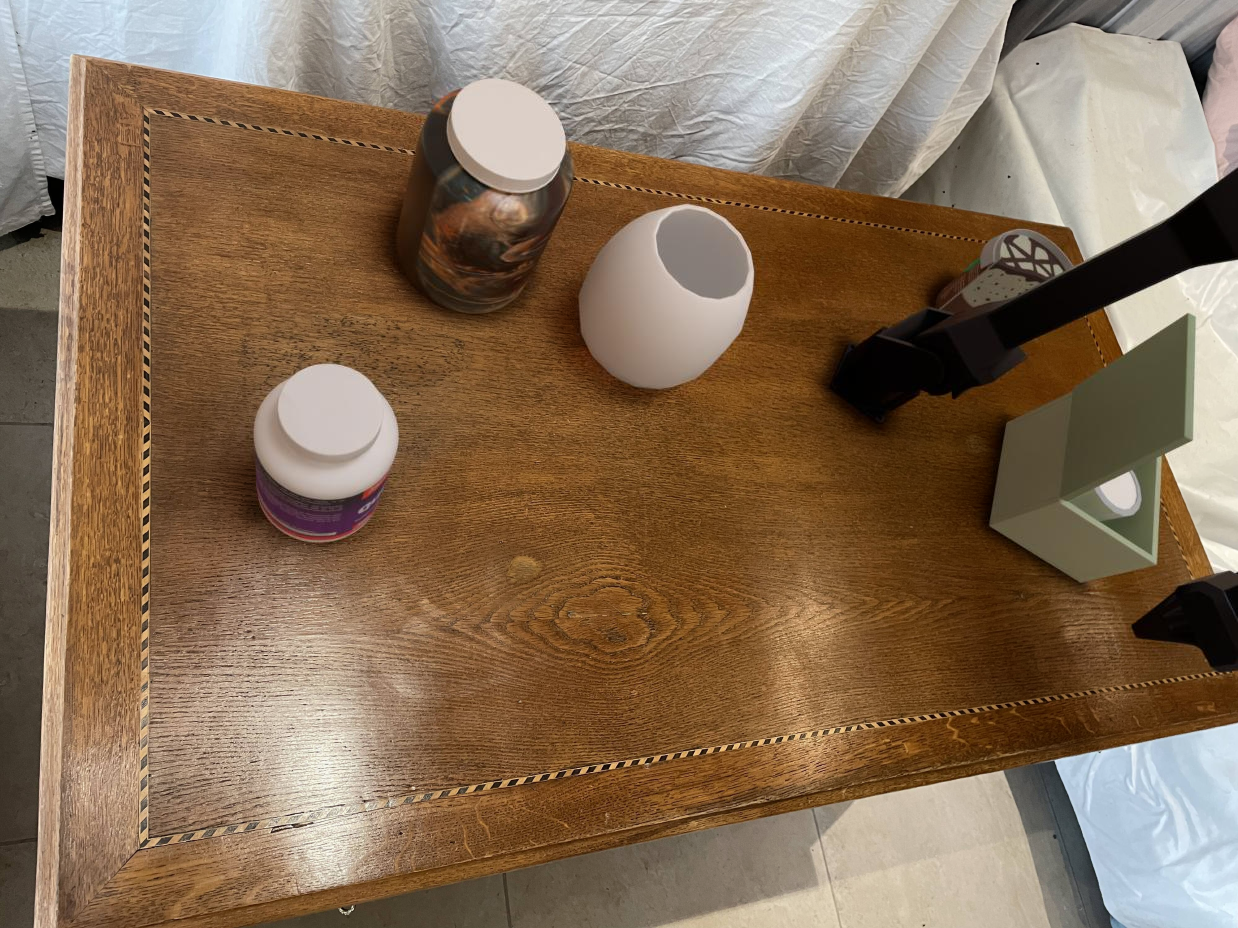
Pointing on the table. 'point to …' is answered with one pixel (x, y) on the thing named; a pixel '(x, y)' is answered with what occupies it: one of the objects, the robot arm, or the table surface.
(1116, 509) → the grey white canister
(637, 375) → the cup
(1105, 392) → the lid
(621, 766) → the table surface
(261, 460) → the pill bottle
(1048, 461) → the chest
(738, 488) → the table surface
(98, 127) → the table surface
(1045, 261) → the food container
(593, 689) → the table surface
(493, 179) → the jar
